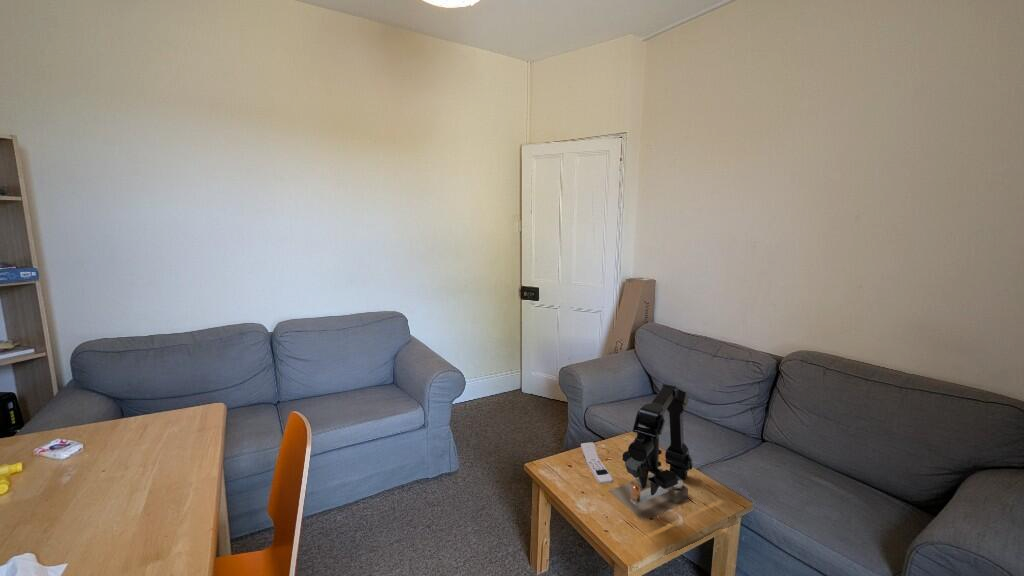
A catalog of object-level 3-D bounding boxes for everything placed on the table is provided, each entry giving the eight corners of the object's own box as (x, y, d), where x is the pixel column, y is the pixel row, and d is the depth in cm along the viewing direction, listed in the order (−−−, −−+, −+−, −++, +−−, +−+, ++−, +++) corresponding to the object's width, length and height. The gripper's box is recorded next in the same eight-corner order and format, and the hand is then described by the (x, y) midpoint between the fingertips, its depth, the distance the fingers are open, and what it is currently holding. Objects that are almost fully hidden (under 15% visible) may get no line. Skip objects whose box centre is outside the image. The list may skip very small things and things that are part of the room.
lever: (674, 479, 152) (675, 464, 151) (685, 486, 148) (686, 471, 147) (626, 499, 142) (627, 483, 141) (637, 507, 137) (637, 491, 136)
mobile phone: (593, 441, 180) (615, 474, 156) (593, 454, 181) (616, 489, 157) (579, 443, 179) (600, 476, 155) (579, 455, 180) (600, 491, 156)
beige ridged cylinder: (638, 480, 159) (639, 465, 158) (646, 486, 155) (646, 471, 155) (630, 483, 157) (631, 468, 156) (638, 489, 154) (638, 474, 153)
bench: (651, 477, 163) (652, 464, 162) (689, 503, 147) (690, 489, 147) (607, 494, 153) (608, 481, 152) (643, 525, 137) (644, 509, 137)
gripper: (610, 440, 137) (609, 483, 139) (653, 468, 120) (651, 517, 122) (635, 431, 142) (634, 474, 144) (680, 458, 125) (678, 505, 127)
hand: (648, 491), depth 134 cm, fingers open, 4 cm apart
